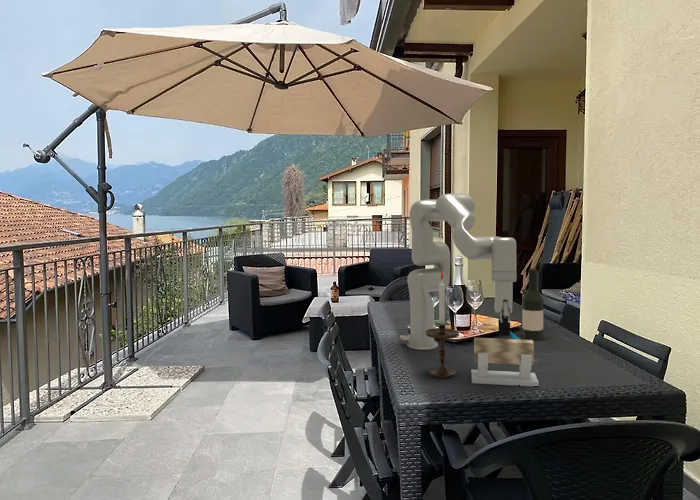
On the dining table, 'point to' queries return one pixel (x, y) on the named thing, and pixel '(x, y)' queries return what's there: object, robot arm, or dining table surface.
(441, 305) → the candlestick
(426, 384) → the dining table surface
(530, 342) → the rail
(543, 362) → the dining table surface
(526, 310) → the wine bottle
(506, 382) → the cradle
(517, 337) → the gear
